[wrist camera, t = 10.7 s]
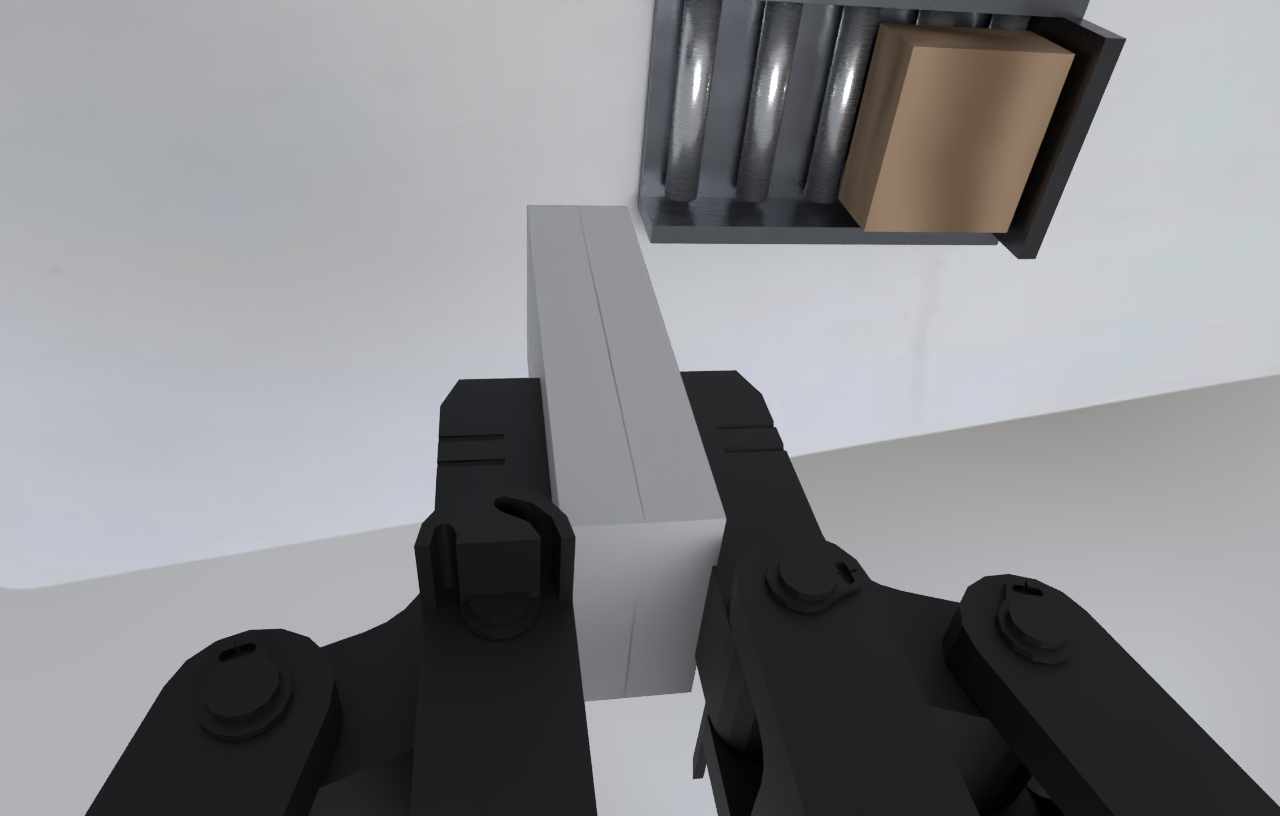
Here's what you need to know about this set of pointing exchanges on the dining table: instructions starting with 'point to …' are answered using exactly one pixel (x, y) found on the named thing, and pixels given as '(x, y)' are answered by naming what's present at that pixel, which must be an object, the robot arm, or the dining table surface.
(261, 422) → the dining table surface
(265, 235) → the dining table surface
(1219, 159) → the dining table surface
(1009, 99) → the slab
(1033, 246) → the roller bed
